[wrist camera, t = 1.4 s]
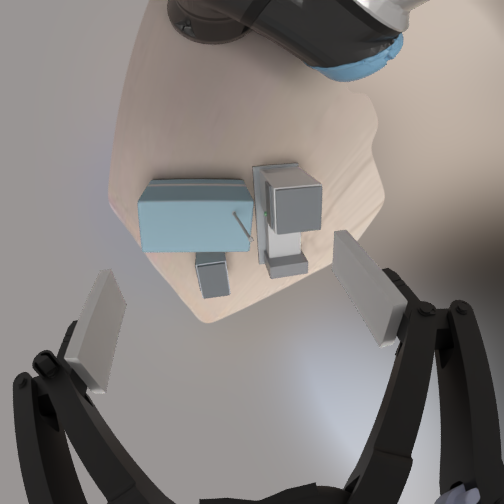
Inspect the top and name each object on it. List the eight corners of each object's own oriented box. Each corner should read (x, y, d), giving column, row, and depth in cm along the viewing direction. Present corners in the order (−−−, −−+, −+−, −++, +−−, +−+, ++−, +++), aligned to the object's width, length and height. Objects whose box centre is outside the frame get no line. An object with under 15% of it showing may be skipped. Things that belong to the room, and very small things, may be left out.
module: (195, 242, 53) (194, 266, 46) (222, 238, 53) (226, 262, 46) (200, 272, 56) (201, 299, 49) (226, 269, 57) (230, 295, 50)
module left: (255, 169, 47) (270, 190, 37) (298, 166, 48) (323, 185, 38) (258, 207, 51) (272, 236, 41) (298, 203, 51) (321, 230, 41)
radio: (153, 225, 50) (132, 293, 33) (151, 178, 45) (121, 226, 28) (239, 225, 53) (259, 291, 35) (243, 178, 48) (266, 225, 31)
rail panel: (252, 166, 47) (256, 171, 44) (297, 162, 48) (303, 167, 45) (258, 262, 57) (262, 272, 54) (297, 257, 58) (302, 266, 55)
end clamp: (263, 250, 55) (270, 267, 50) (298, 245, 56) (308, 261, 51) (264, 261, 57) (270, 279, 51) (298, 256, 57) (307, 273, 52)
